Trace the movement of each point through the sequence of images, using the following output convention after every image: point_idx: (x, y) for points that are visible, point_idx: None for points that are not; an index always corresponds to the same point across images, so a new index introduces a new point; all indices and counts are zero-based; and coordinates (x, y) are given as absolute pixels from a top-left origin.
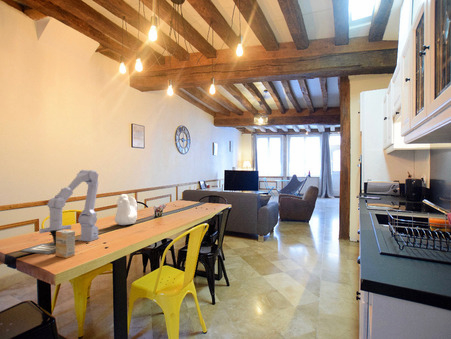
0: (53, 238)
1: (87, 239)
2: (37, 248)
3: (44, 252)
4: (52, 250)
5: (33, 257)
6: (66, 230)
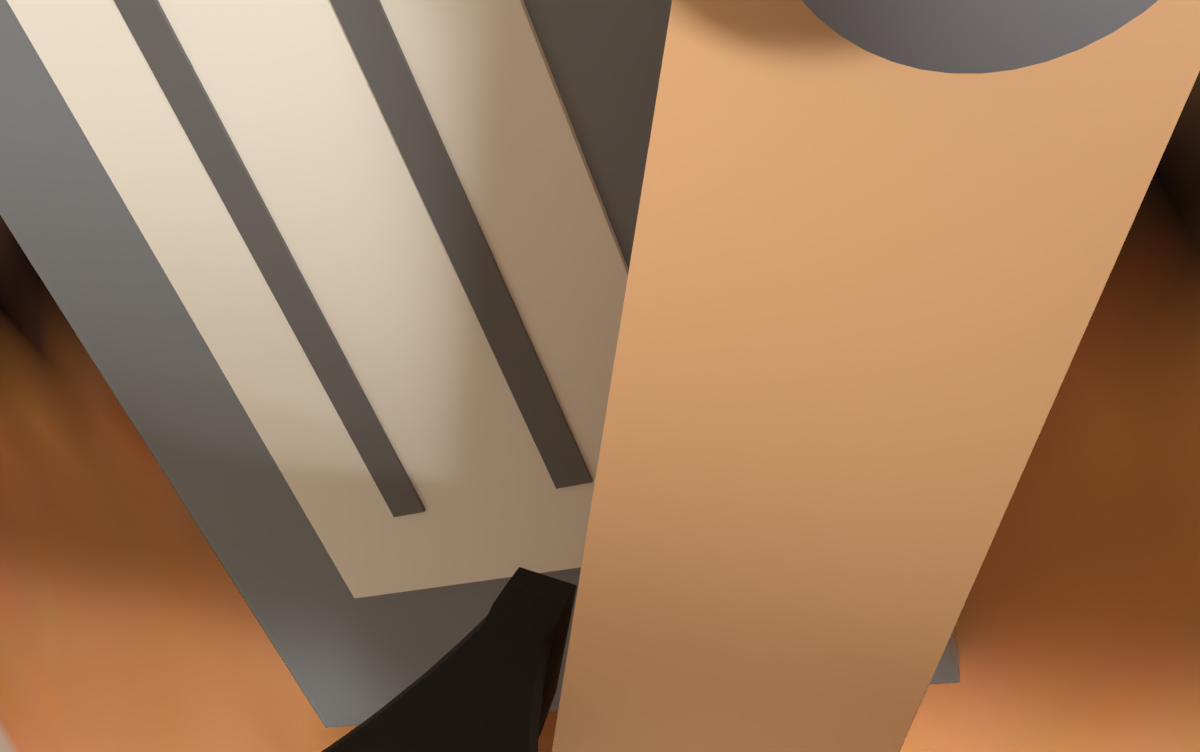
0: (392, 717)
1: None
2: (139, 46)
3: (264, 601)
4: (452, 632)
5: (74, 596)
6: None
